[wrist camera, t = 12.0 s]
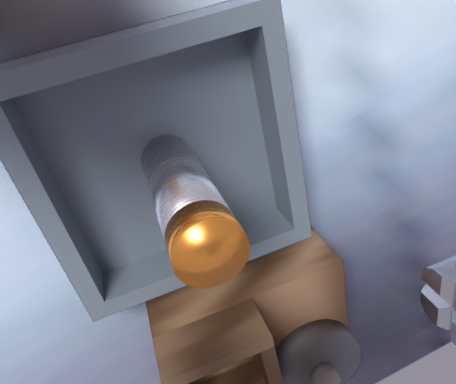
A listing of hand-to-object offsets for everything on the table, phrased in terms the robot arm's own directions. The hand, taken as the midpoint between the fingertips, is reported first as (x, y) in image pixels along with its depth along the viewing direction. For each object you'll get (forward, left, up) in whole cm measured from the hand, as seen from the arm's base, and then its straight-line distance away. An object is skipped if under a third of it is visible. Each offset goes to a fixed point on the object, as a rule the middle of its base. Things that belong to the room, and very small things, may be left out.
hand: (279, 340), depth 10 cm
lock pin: (+1, 0, -14) cm, 14 cm away
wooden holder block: (-1, +14, -14) cm, 20 cm away
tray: (+1, 0, -14) cm, 14 cm away
